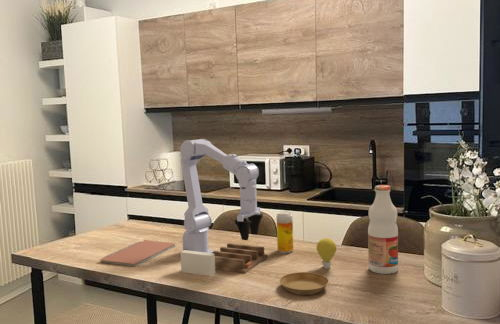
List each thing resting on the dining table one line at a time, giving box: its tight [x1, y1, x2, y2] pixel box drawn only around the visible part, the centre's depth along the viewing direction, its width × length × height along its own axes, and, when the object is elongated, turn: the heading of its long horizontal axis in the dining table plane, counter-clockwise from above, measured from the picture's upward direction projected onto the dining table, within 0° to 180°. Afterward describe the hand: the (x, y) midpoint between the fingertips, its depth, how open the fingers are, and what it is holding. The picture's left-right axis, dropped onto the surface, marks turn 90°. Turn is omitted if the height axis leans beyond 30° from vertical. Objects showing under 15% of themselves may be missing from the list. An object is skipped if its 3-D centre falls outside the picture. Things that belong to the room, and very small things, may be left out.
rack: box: [212, 242, 268, 274], centre depth 165 cm, size 17×18×4 cm
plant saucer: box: [279, 271, 330, 296], centre depth 138 cm, size 15×15×3 cm
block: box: [180, 250, 216, 277], centre depth 155 cm, size 12×2×7 cm, turn 64°
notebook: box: [99, 239, 177, 267], centre depth 179 cm, size 27×17×2 cm, turn 156°
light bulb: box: [316, 237, 337, 269], centre depth 155 cm, size 7×7×10 cm
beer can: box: [276, 211, 294, 254], centre depth 175 cm, size 6×6×15 cm
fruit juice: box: [367, 184, 399, 275], centre depth 150 cm, size 9×9×28 cm
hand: (249, 237), depth 161 cm, fingers open, 7 cm apart
